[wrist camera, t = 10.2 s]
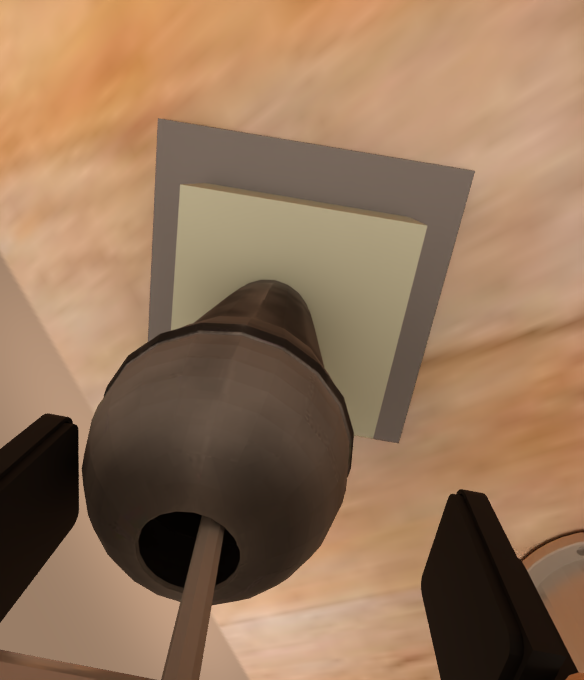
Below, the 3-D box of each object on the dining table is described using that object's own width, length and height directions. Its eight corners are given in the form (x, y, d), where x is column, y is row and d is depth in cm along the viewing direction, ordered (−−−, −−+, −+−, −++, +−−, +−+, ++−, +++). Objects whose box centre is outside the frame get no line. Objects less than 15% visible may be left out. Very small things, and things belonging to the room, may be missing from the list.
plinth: (469, 171, 26) (509, 169, 20) (396, 435, 32) (412, 490, 27) (163, 120, 26) (120, 105, 20) (150, 393, 32) (113, 438, 27)
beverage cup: (170, 317, 24) (-386, 852, 5) (268, 220, 22) (-42, 499, 3) (267, 408, 25) (121, 1077, 6) (366, 325, 23) (568, 945, 5)
